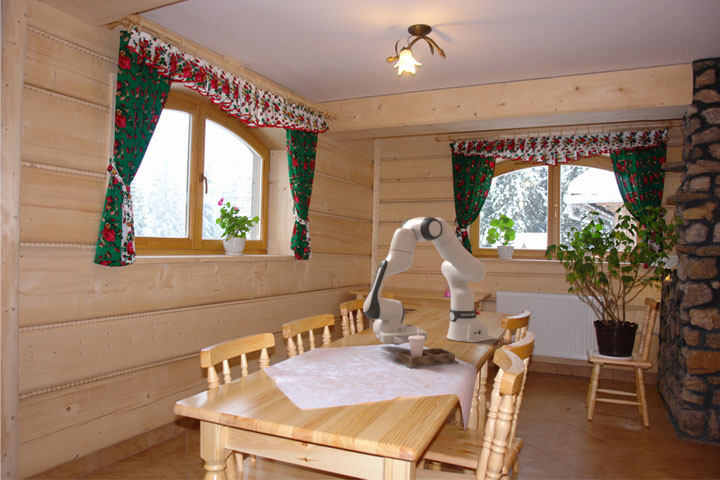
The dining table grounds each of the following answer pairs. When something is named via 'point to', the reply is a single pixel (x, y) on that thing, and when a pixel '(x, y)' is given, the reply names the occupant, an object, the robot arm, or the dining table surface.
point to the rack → (426, 357)
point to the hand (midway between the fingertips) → (412, 340)
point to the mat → (423, 365)
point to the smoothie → (416, 344)
